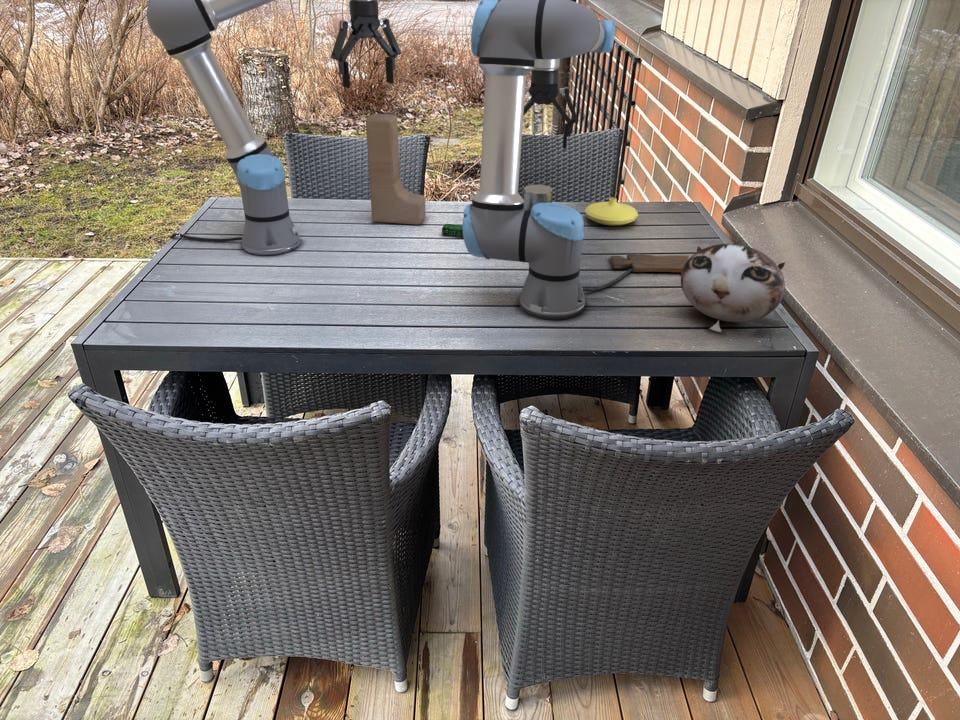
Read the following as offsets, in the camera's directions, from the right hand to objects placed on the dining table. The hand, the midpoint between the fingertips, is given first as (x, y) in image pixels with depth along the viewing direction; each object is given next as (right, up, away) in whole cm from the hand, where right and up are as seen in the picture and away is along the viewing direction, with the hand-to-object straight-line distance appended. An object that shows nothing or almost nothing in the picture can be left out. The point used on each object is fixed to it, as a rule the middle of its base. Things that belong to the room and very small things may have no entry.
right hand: (540, 147), depth 206 cm
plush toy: (+38, -52, -43) cm, 77 cm away
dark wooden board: (+30, -37, -17) cm, 50 cm away
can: (0, -19, +11) cm, 22 cm away
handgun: (-19, -24, +2) cm, 30 cm away
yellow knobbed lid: (+22, -19, +11) cm, 32 cm away
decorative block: (-42, -19, +10) cm, 47 cm away
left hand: (-48, +15, -7) cm, 51 cm away
